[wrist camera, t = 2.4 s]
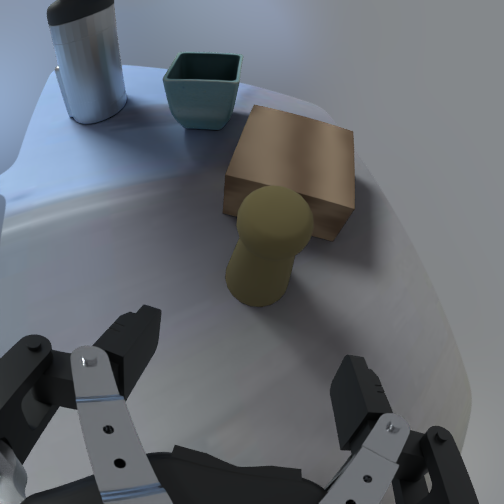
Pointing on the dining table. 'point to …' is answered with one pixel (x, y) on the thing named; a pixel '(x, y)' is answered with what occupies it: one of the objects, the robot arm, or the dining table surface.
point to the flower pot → (203, 88)
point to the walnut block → (295, 166)
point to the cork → (267, 244)
